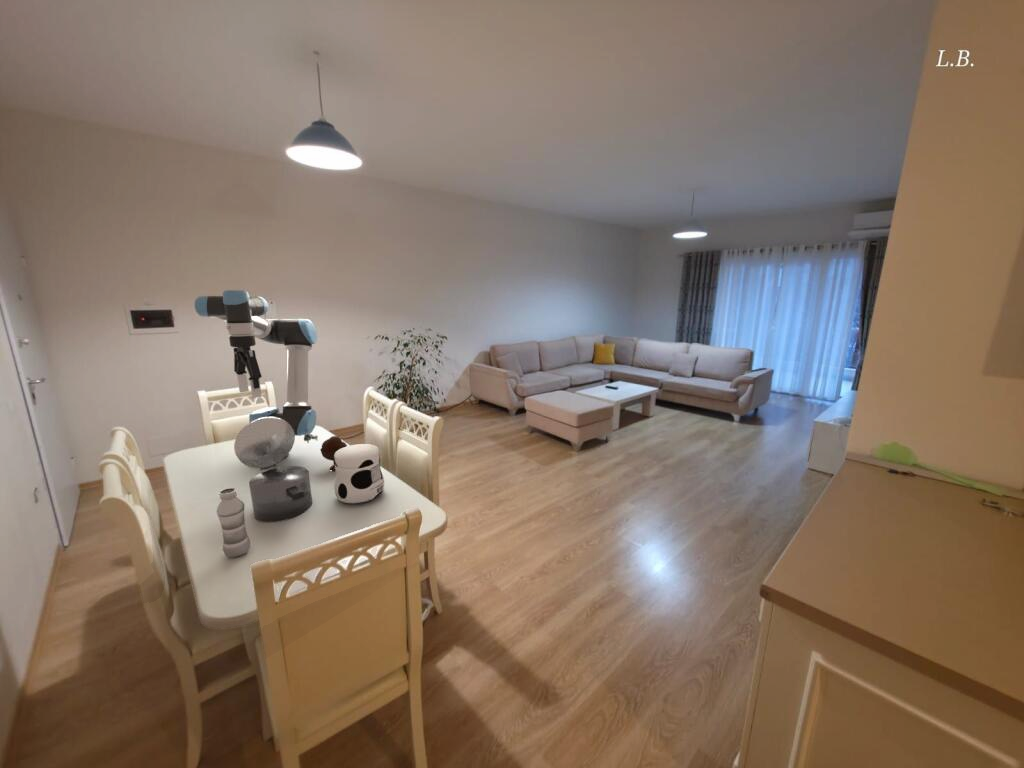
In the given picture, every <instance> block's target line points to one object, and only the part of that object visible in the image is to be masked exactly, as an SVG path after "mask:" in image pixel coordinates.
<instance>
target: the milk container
mask: <svg viewBox="0 0 1024 768" xmlns="http://www.w3.org/2000/svg"><path fill="white" fill-rule="evenodd" d="M380 458H381V455H380V450H379V447H378V446H377V445H374V444H372V443H371V444H370V443H359V444H358V443H357V444H352V445H347V446H346V447H344V448H341V449H339V450H338V451H336V453H335V454H334V462H335V471H334V472H335V481H334V493H335V496H336V499H337V500H339V502H341V503H343V504H347V505H358V504H365V503H369V502H371V501H373V500H375V499H377V498H378V497H380V495H382V493H383V491H384V489H385V478H384V475H383V472H382V469H381V459H380ZM334 462H333V463H334Z"/></svg>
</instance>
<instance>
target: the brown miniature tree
mask: <svg viewBox="0 0 1024 768" xmlns="http://www.w3.org/2000/svg"><path fill="white" fill-rule="evenodd" d="M346 446H348V444H347V443H346V442H345V441H342V438H341V437H339V436H338V435H332V436H330V438H327V439H326V440H325V441H323V442H322V445H321V448H319V450H320V453H321V456H322V458H324V459H326V460H328V461H332V462H333V465H331V466H330V467H329V471H330V470H332V471H331V472H335V462H334V454H335V453H336V451H338V450H339V449H341V448H344V447H346Z"/></svg>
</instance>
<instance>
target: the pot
mask: <svg viewBox="0 0 1024 768" xmlns="http://www.w3.org/2000/svg"><path fill="white" fill-rule="evenodd" d="M310 479H311V478H310V471H309V470H308V468H307V467H304V466H300V465H288V466H280V467H276V468H274V467H273V468H270V469H269V470H268V469H266V470H264V471H261V472H260V473H258V474H256V475H255V476H253V477H251V479H250V480H249V481H248V485H249V491H250V498H251V503H252V504H251V505H252V511H253V515H254V516H253V517H254V518H255V519H256V520H257V521H259V522H262V523H276V522H277V523H278V522H283V521H288V520H290V519H294V518H296V517H298V516H300V515H303V514H304V513H305V512H307V511H308V510H310V508H311V507H312V505H313V497H312V496H313V495H312V488H311V480H310Z"/></svg>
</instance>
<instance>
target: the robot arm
mask: <svg viewBox="0 0 1024 768" xmlns="http://www.w3.org/2000/svg"><path fill="white" fill-rule="evenodd" d="M194 310H195V312H196V314H197V315H198V316H200V317H203V318H216V319H218V320H220V321H223V322H225V323H226V326H225V329H226V330H227V331H228V335H230V336H229V337H228V338H229V339H228V340H229V346H230V347H232V348H233V357H234V358H233V363H234V364H233V368H234V370H233V371H234V373H235V374H236V376H237V382H238V383H237V384H238V388H239V389H238V390H239V392H240V393H245V392H249V391H250V390H251V397H252V398H253V399H256V398H261V397H263V395H262V389H261V388H262V387H261V383H260V379H261V378H262V373H261V371H260V370H261V369H260V367H259V363H258V360H257V355H256V350H255V349H252V350H251V347H254V346H256V345H257V344H256V339H258V340H261V341H263V342H267V343H269V344H274V345H275V344H276V345H283V349H284V350H286V351H287V356H286V357H287V360H286V363H287V364H286V366H287V367H286V368H287V369H286V403H285V404H284V405H282V410H280V408H279V407H278V406H268V407H263V408H259V409H257V410H255V411H252V412H251V413H250V414H249V416H248V418H249V423H251V422H252V421H254V420H257V419H259V418H263V417H278V418H281V419H283V420H285V421H286V422H287V423H289V424H290V425H291V427H292V428H293V430H294V434H295V437H296V436H299V437H302V436H307V435H310V434H312V433H313V431H314V429H315V427H316V425H317V412H316V410H315V409H313V408H312V405H311V404H310V403H309V352H310V351H311V350H312V349H313V347H312V346H313V345H314V344H317V340H318V336H317V334H318V333H317V331H316V330H317V329H316V327H315V325H314V323H313V322H312V320H310V319H308V318H265V317H262V316H263V315H265V314H267V312H268V310H269V304H268V302H267V300H266V299H265V298H264V297H262V296H259V295H249V292H248V291H247V290H245V289H243V290H242V289H233V290H231V289H230V290H228V289H226V290H224V291H222V295H203V296H202V295H201V296H197V298H196V299H195V300H194ZM246 369H247V370H246ZM247 374H248V375H249V378H247V376H248V375H247ZM248 380H249V384H250V390H249V385H248ZM249 423H248V424H249ZM289 454H290V452H289V453H288V455H287V456H286V457H285V458H283V459H282V460H284V459H286V458H287V457H289Z"/></svg>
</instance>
